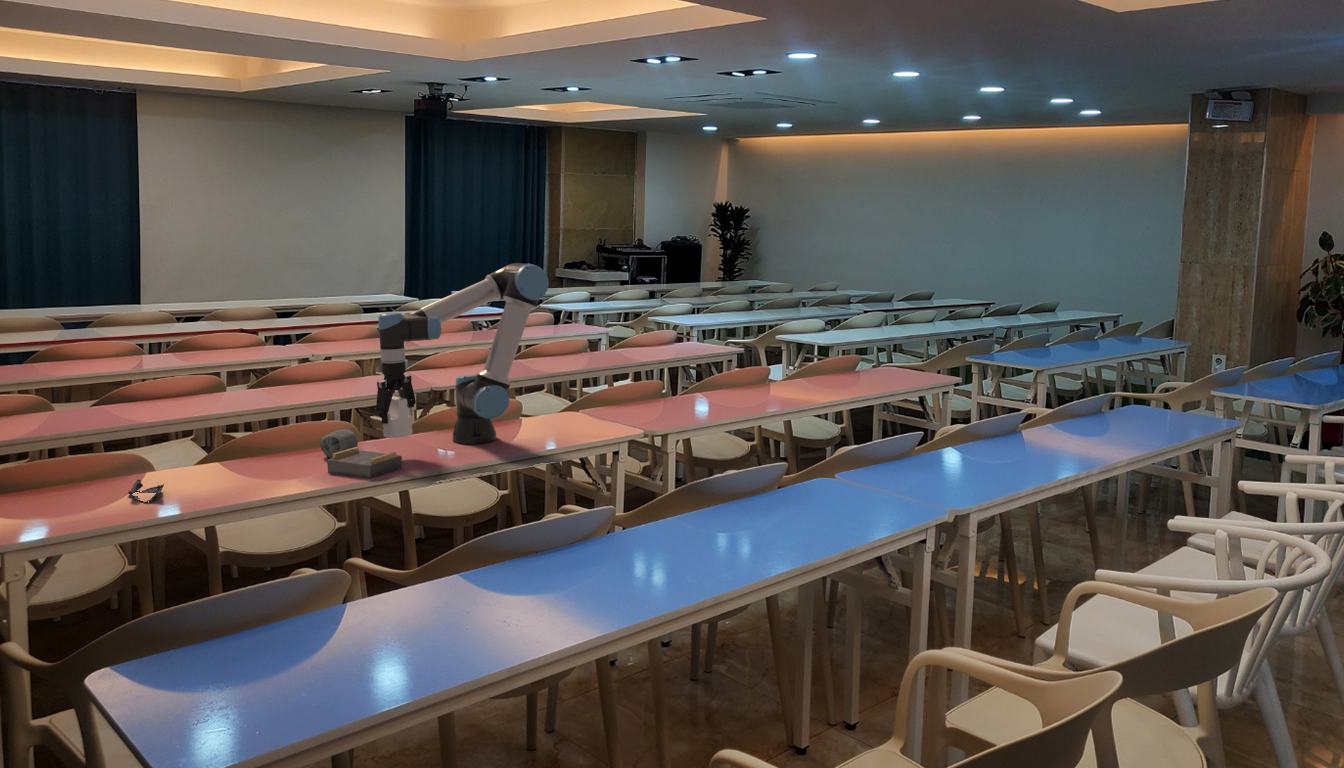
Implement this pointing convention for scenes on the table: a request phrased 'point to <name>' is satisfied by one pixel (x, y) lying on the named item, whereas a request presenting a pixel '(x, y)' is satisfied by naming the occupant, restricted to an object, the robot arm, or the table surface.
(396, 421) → the base with upright slab
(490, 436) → the robot arm
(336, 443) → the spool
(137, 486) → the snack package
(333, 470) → the dark grey flat block
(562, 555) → the table surface
